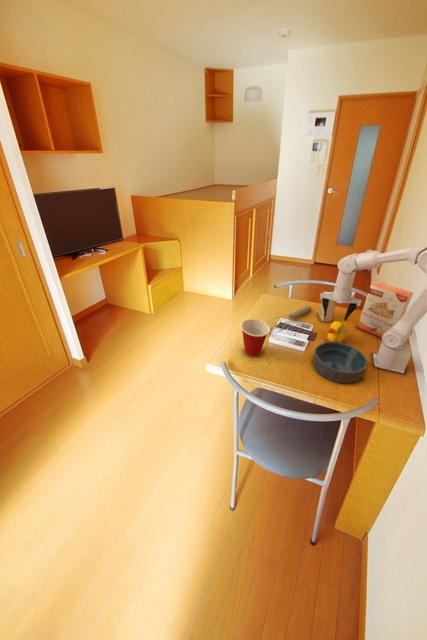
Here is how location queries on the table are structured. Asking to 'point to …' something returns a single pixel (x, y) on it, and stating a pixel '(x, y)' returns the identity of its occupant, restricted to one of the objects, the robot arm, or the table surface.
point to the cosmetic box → (329, 310)
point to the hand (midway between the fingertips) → (334, 317)
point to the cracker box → (383, 308)
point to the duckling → (337, 332)
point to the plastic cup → (254, 335)
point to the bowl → (339, 362)
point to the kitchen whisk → (293, 315)
